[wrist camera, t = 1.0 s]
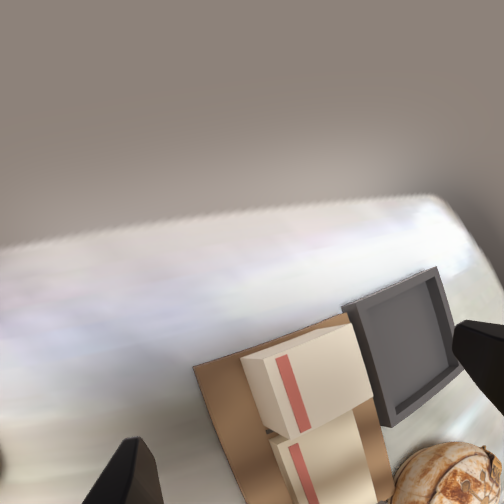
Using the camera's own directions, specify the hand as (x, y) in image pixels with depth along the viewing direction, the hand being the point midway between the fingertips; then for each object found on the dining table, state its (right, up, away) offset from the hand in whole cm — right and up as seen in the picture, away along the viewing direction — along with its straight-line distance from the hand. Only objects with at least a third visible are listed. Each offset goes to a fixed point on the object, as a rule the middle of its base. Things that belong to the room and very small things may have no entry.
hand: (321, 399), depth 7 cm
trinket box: (+17, -22, +16) cm, 31 cm away
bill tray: (+12, -5, +19) cm, 23 cm away
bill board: (+3, -11, +14) cm, 18 cm away
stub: (+1, -5, +14) cm, 15 cm away
